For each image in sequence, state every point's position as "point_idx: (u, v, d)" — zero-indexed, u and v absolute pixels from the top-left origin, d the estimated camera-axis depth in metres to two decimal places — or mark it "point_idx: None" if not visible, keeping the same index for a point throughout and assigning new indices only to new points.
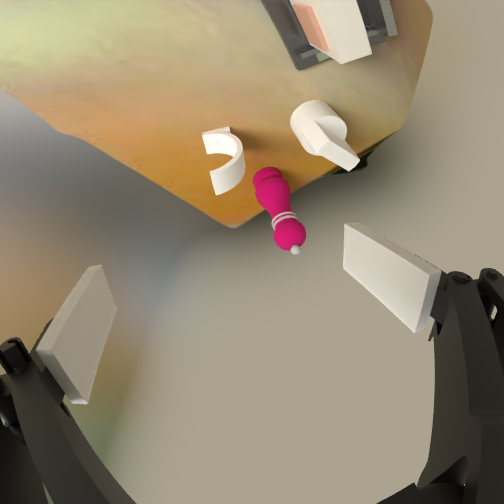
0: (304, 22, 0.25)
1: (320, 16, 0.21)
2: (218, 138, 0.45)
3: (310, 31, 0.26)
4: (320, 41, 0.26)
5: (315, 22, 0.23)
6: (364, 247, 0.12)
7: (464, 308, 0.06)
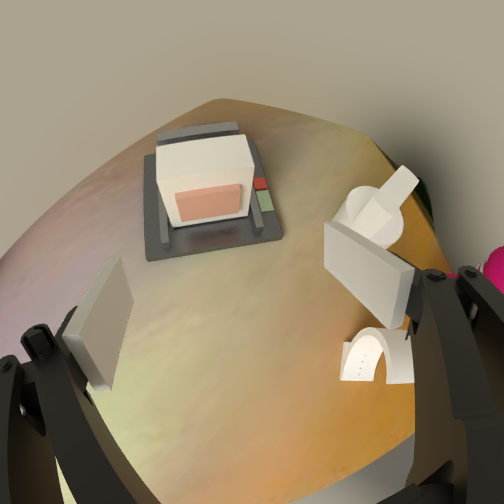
0: (203, 209, 0.31)
1: (184, 182, 0.26)
2: (353, 359, 0.30)
3: (215, 203, 0.30)
4: (225, 190, 0.28)
5: (197, 192, 0.28)
6: (341, 245, 0.13)
7: (440, 307, 0.07)
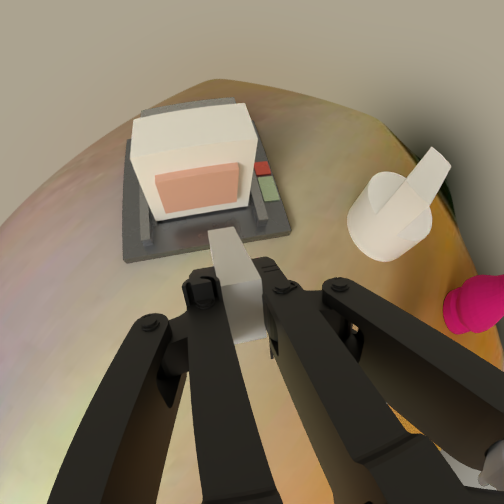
0: (192, 196, 0.24)
1: (166, 159, 0.20)
2: None
3: (207, 189, 0.23)
4: (220, 171, 0.21)
5: (183, 173, 0.21)
6: None
7: (296, 326, 0.07)
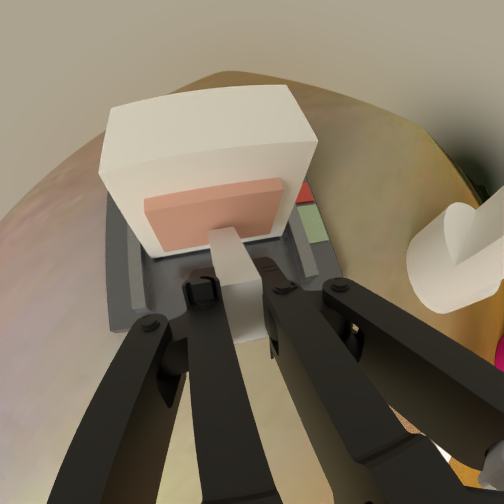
0: (205, 229, 0.15)
1: (162, 173, 0.11)
2: None
3: (229, 218, 0.15)
4: (253, 192, 0.13)
5: (191, 195, 0.13)
6: None
7: (297, 326, 0.07)
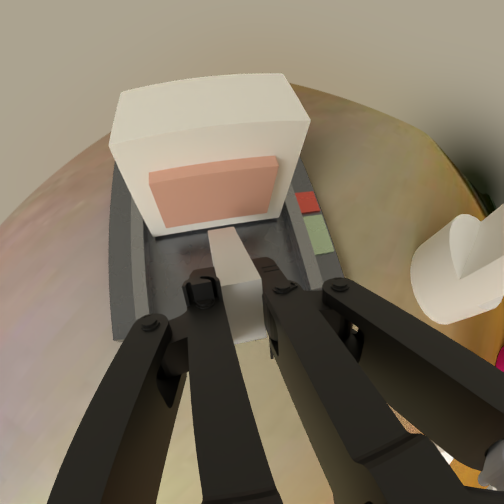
0: (205, 205, 0.16)
1: (167, 147, 0.12)
2: None
3: (228, 194, 0.16)
4: (250, 167, 0.14)
5: (193, 170, 0.14)
6: None
7: (297, 326, 0.07)
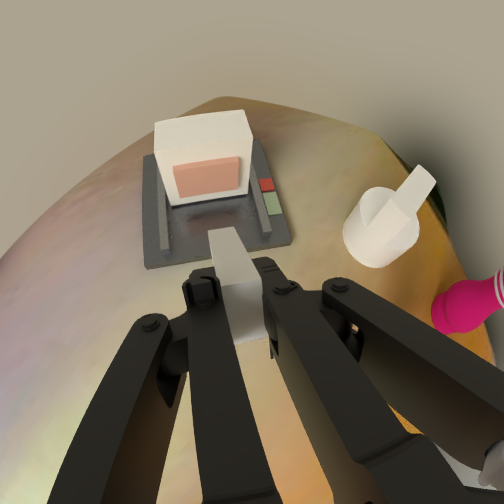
0: (202, 184, 0.30)
1: (182, 153, 0.26)
2: None
3: (213, 177, 0.29)
4: (224, 162, 0.27)
5: (195, 164, 0.27)
6: None
7: (296, 326, 0.07)
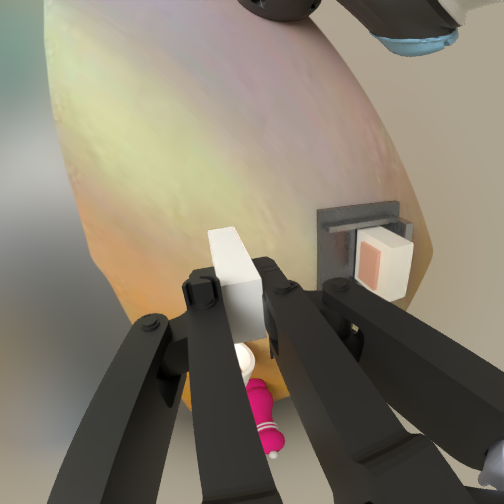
0: (366, 261, 0.44)
1: (386, 262, 0.39)
2: None
3: (367, 270, 0.43)
4: (374, 282, 0.42)
5: (378, 265, 0.41)
6: None
7: (297, 326, 0.07)
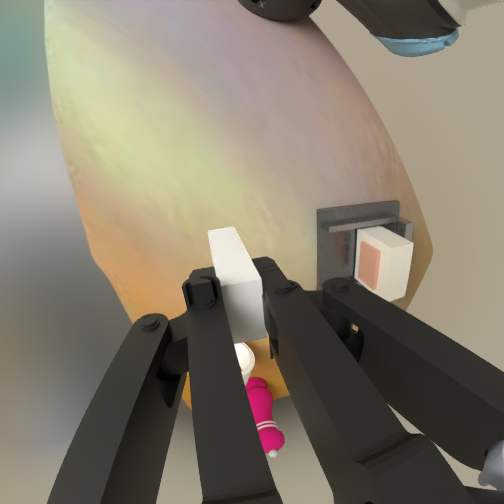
0: (365, 261, 0.44)
1: (385, 262, 0.39)
2: None
3: (367, 270, 0.43)
4: (374, 281, 0.42)
5: (377, 265, 0.41)
6: None
7: (296, 326, 0.07)
